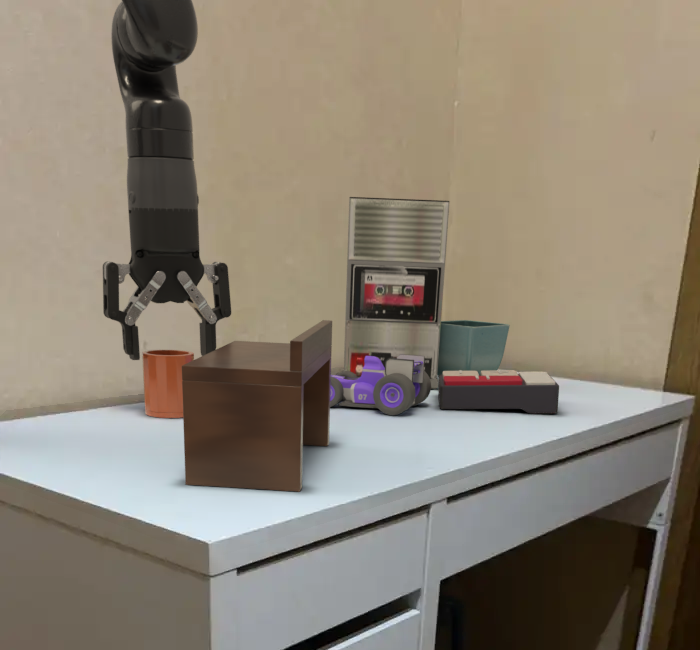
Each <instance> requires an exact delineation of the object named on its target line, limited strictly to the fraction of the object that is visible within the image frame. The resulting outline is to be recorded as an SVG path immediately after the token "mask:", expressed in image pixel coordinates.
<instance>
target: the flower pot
mask: <svg viewBox="0 0 700 650" xmlns="http://www.w3.org/2000/svg"><path fill="white" fill-rule="evenodd" d="M510 326H511V325H510V324H508V323H500V322H491V321H479V320H469V319H457V320H456V319H455V320H441V328H440V343H439V357H438V371H437V378H439V375H443V371H459V370H462V371H477V372H478V374H481V371H490V370H499V367H500V366H501V364H502V362H503V358H504V353H505V349H506V345H507V340H508V335H509V331H510Z"/></svg>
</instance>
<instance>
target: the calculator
mask: <svg viewBox="0 0 700 650" xmlns="http://www.w3.org/2000/svg"><path fill="white" fill-rule="evenodd" d="M437 394H438V395H437V396H438V402H439V408H440V409H441V410H522V411H524V412H525V413H527V414H531V415H532V414H533V415H534V414H535V415H536V414H539V415H541V414H542V415H543V414H544V415H545V414H547V415H548V414H557V413H558V411H559V398H560V397H559V395H560V385H559V384H558V383H557V382H556V380H555V379H554V378H553V377H552V376H551V375H550V374H549V373H548V372H547V371H519V372H517V371H516V370H513V369H511V370H507V369H506V370H505V369H503V370H502V369H498V370H490V371H481V374H478V372H477V371H462V370H459V371H443V375H439V377H438V393H437Z"/></svg>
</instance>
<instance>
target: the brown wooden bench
mask: <svg viewBox="0 0 700 650" xmlns="http://www.w3.org/2000/svg"><path fill="white" fill-rule="evenodd" d="M332 347H333V320H329V319H328V320H327V319H325V320H324V319H323V320H320V322H318V323H316V324H314V325H313V326H311V327H310V328H308V329H307V330H305V331H303V332H301V333H300V334H298V335H296V336H295V337H294V338H292V339H291V340H289V343H287V342H268V341H249V340H248V341H246V340H233V341H231V342H229V343H227V344H225V345H223V346H221V347H218V348H216V350H214V351H212V352H210V353H208V354H206V355H204V356H202V355H201V356H199V357H197V358H194V360H193V361H191V362H189V363H187V364H185V365H182V380H183V381H182V392H183V417H182V419H183V420H182V421H183V449H184V477H185V478H184V479H185V482H184V483H185V485H186V486H187V485H188V486H203V487H219V488H235V489H236V488H237V489H252V490H267V491H268V490H270V491H284V492H285V491H286V492H301V491H302V489H303V455H304V454H303V453H304V452H303V451H304V450H303V449H304V448H303V447H304V446H317V447H328V446H329V444H330V420H331V407H330V389H331V375H332V351H333V350H332Z"/></svg>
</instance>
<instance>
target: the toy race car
mask: <svg viewBox="0 0 700 650" xmlns="http://www.w3.org/2000/svg"><path fill="white" fill-rule="evenodd" d="M424 359H425V356H418V355H405V354H400V355H399V356H398V357H397V358H389V359H387V360H386V362H385V367H384V366H383V364H382V362H381V360H380V359H379V358H377V357H375V356H365V359H364V363H365V365H364V367H363V371H362V375H361V377H360V378H358V377H357V376H356V375H355V374H354V373H353V372H350V371H344V370H342V371H340V372H337V373H335V374H331V389H330V408H332V407H334V406H341V407H351V408H363V409H364V408H365V409H366V408H367V409H378V410H379V411H380V412H382V413H383V414H385V415H388V416H397V415H399V414H403V413H404V412H406V411H407V410H409V409H410V408H411V407H415V406H417V405H420V404H421V403H423V402H425V401H426V400H427V398H428V397H429V396H430V393H431V390H432V389H431V381H430V378H429V376H428V374H427V373H426V372H425V371H424Z"/></svg>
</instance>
